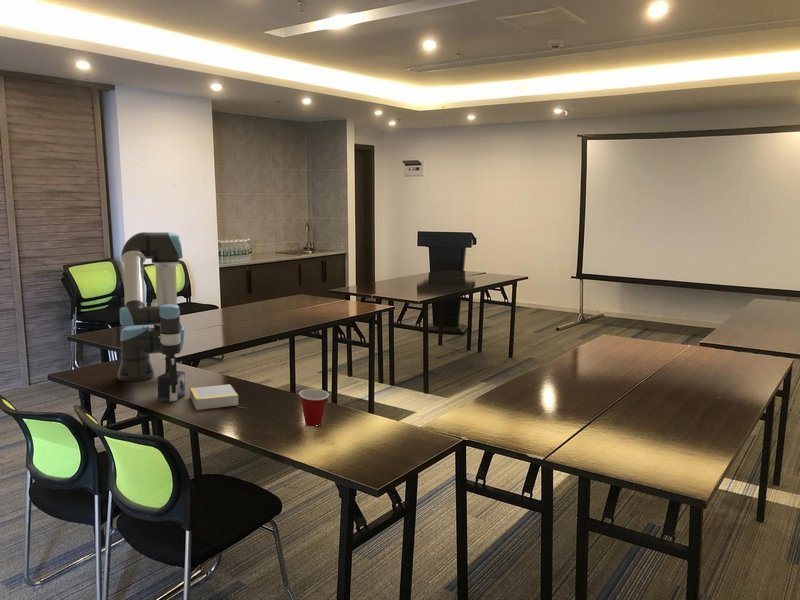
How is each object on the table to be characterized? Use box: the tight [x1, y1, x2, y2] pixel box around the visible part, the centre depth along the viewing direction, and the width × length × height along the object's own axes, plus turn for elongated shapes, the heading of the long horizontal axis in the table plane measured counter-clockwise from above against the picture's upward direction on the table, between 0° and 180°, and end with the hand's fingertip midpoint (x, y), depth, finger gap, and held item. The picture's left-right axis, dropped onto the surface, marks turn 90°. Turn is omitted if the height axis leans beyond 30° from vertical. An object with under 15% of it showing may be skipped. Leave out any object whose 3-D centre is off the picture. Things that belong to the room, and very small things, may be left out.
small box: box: [157, 370, 186, 404], centre depth 253 cm, size 11×6×10 cm, turn 169°
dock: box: [189, 384, 239, 411], centre depth 253 cm, size 16×16×4 cm
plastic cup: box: [298, 388, 330, 427], centre depth 230 cm, size 11×11×12 cm
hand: (171, 395), depth 254 cm, fingers closed on small box, 12 cm apart
